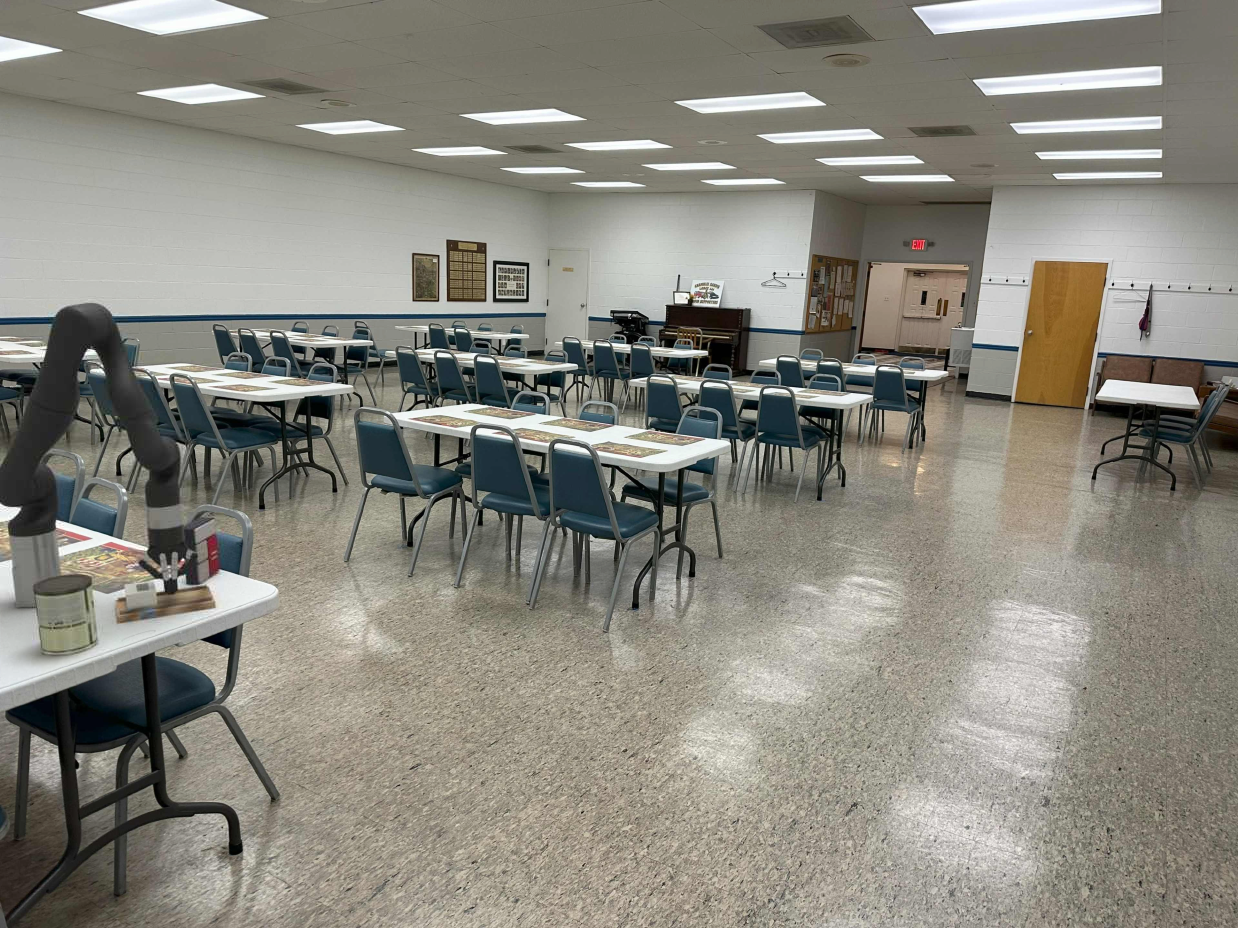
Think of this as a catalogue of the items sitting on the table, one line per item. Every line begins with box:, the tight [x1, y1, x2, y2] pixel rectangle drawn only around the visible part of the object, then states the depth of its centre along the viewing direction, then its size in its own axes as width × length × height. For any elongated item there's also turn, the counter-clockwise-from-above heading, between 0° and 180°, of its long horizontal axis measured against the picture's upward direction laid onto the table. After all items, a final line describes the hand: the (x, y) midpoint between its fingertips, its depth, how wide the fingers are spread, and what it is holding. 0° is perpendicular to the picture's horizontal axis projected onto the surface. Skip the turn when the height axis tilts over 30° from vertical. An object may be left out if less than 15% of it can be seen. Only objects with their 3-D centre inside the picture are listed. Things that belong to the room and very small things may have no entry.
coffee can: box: [33, 573, 99, 657], centre depth 175 cm, size 10×10×14 cm
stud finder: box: [124, 580, 157, 609], centre depth 196 cm, size 6×8×4 cm
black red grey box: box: [183, 516, 220, 586], centre depth 218 cm, size 11×4×15 cm, turn 179°
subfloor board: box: [114, 584, 217, 624], centre depth 199 cm, size 20×12×2 cm, turn 122°
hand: (171, 593), depth 199 cm, fingers closed
